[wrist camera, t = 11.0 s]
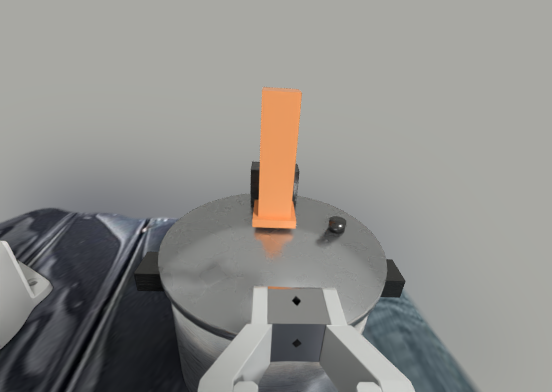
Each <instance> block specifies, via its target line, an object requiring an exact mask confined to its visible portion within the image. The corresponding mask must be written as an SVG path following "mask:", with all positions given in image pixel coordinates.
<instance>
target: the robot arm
mask: <svg viewBox="0 0 552 392" xmlns="http://www.w3.org/2000/svg"><path fill="white" fill-rule="evenodd" d="M52 289H53V286H52V285H51V283H50V282H49V280H47V279H46V278H44V277H43V276H41V275H40V274H38V273H37V272H35V271H34V270H32V269H31V268H29V267H28V266H26V265H25V264H23V263H22V262H20V261H19V260H17V259H16V258H15V256H14V254H13V252H12V250H11V248H10V246H9V245H8V243H7V242H6V241H0V349H1V348H2V347H3V346H5V345H6V344H7V343H8V342H9V341H10V340H11V339H12V338H13V337H14V336H15V334H16V333H17V332H18V331H19V330H20V328H21V327H22V326H23V324H24V323H25V321H26V319H27V318H28V316H29V314H30V313H31V311H32V310H33V308H34V307H35V306H36V305H37V304H39V303H40V302H41V301H42V300H43V299H44V298H45V297H46V296H47V295H48V294H49V293H50V292H51V291H52ZM285 361H299V362H319V364H320V365H321V367H322V368H323V370H324V371H325V373H326V374H327V375H328V377H329V378H330V380H331V381H332V383H333V384H334V386H335V387H336V388H337V390H338V391H339V392H415V390H414V388H413V386H412V384H411V381H410V380H408V379H407V378H406V377H405V376H404V375H403V374H402V373H401V372H400V371H399V370H398V369H397V368H396V367H395V366H394V365H393V364H392V363H391V362H389V361H388V360H387V359H386V358H385V357H384V356H383V355H382V354H381V353H380V352H379V351H378V350H377V349H376V348H375V347H374V346H373V345H372V344H370V343H369V342H368V341H367V340H366V339H365V338H364V337H363V336H362V335H361V334H360V333H359V332H358V331H357V330H356V329H355V328H354V327H353V326H351V325H347V323H346V320H345V317H344V313H343V310H342V307H341V303H340V300H339V297H338V294H337V290H336V289H335V288H325V287H321V288H317V287H273V286H268V288H267V287H265V286H254V287H253V296H252V310H251V324H246V325H245V326H244V327H243V329H242V330H241V331H240V332H239V333H238V335H237V336H236V337H235V338H234V339H233V341H232V342H231V343H230V344H229V345H228V347H227V348H226V349H225V350H224V351H223V353H222V354H221V355H220V356H219V358H218V359H217V360H216V361H215V362H214V364H213V365H212V366H211V367H210V368H209V370H208V371H207V372H206V373H205V374H204V376H203V377H202V378H201V379H200V383H199V387H198V392H258V384H259V382H260V380H261V379H262V377H263V375H264V373H265V371H266V370H267V368H268V366H269V364H270V362H285Z"/></svg>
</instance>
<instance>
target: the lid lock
mask: <svg viewBox="0 0 552 392" xmlns="http://www.w3.org/2000/svg"><path fill="white" fill-rule="evenodd" d="M301 96H302V93H301V91H300V90H298V89H288V88H270V87H263V89H262V111H261V112H262V113H261V143H260V147H261V148H260V175H259V200H255V202H254V211H253V219H252V227H264V228H291V229H296V217H295V210H294V204H293V201H292V196H293V185H294V174H295V163H296V151H297V141H298V130H299V119H300V108H301Z"/></svg>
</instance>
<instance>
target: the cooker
mask: <svg viewBox="0 0 552 392" xmlns="http://www.w3.org/2000/svg"><path fill="white" fill-rule="evenodd" d="M259 175H260V162H252V167H251V194H242V195H236V196H230V197H226V198H222V199H218V200H215V201H212V202H209V203H207V204H204V205H202V206H200V207H198V208H196V209H194V210H192V211H191V212H189V213H187V214H186V215H184V216H183V217H182V218H180V219H179V220H178V221H177V222H176V223H175V224H174V225H173V226H172V227H171V228H170V229H169V231H168V232H167V233H166V235H165V236H164V238H163V241H162V243H161V245H160V249H159V252H147V254H146V255H145V257H144V258H143V260H142V261H141V263H140V265H139V266H138V268H137V269H136V271H135V272H134V276H135V281H136V285H137V290H138V291H165V293H166V295H167V297H168V298H169V300H170V301H171V303H172V310H173V316H174V323H175V329H176V336H177V342H178V349H179V355H180V361H181V368H182V373H183V378H184V381H185V384H186V387H187V389H188V392H198V387H199V383H200V379H201V378H202V377H203V376H204V374H205V373H206V372H207V371H208V370H209V368H210V367H211V366H212V365H213V364H214V362H215V361H216V360H217V359H218V358H219V356H220V355H221V354H222V353H223V351H224V350H225V349H226V348H227V347H228V345H229V344H230V343H231V342H232V341H233V339H234V338H235V337H236V336H237V335H238V333H239V332H240V331H241V330H242V329H243V327H244V326H245V325H246V324H251V310H252V296H253V287H254V286H265V287H267V288H268V286H273V287H317V288H321V287H325V288H335V289H336V290H337V294H338V297H339V300H340V303H341V307H342V310H343V313H344V317H345V320H346V323H347V325H351V326H353V327H354V328H355V329H356V330H357V331H358V332H359V333H360V334H361V335H363V331H364V328H365V324H366V321H367V317H368V315H369V314H370V313H371V312H372V310H373V309H374V307H375V306H376V304H377V303H378V301H379V299H380V297H400V296H401V293H402V290H403V287H404V284H405V280H404V278H403V276H402V275H401V273H400V272H399V270H398V268H397V267H396V265H395V263H394V262H393V260H388V259H386V257H385V254H384V251H383V249H382V247H381V245H380V243H379V241H378V240H377V239H376V237H375V236H374V235H373V234H372V232H370V230H369V229H368V228H367V227H366V226H364V225H363V224H362V223H361V222H360V221H358V220H357V219H355V218H354V217H353V216H351V215H349V214H348V213H346V212H344V211H342V210H340V209H338V208H336V207H334V206H331V205H329V204H326V203H324V202H320V201H317V200H314V199H310V198H306V197H301V196H297V190H298V180H299V169H298V165H297V164H295V174H294V185H293V196H292V201H293V204H294V210H295V217H296V229H291V228H264V227H252V219H253V211H254V202H255V200H259ZM258 392H339V391H338V390H337V388H336V387H335V386H334V384H333V383H332V381H331V380H330V378H329V377H328V375H327V374H326V373H325V371H324V370H323V368H322V367H321V365H320V364H319V362H299V361H285V362H270V364H269V366H268V368H267V370H266V371H265V373H264V375H263V377H262V379H261V380H260V382H259V384H258Z"/></svg>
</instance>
